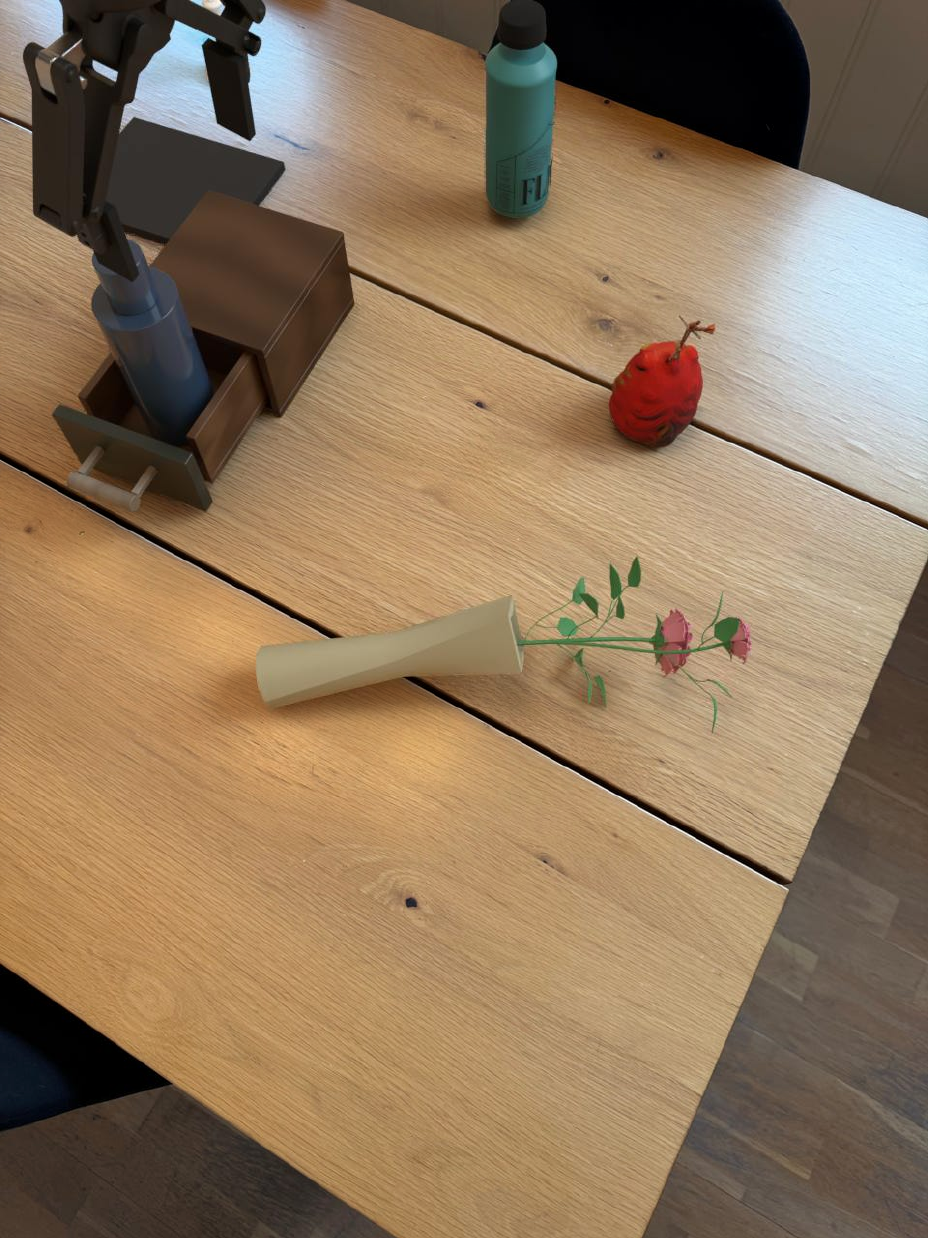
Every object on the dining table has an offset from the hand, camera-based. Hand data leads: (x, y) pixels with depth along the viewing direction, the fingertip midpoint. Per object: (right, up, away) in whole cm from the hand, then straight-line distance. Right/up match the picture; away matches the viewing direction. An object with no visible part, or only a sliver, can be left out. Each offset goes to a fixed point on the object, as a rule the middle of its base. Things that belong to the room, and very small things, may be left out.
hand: (179, 197), depth 68 cm
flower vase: (+22, -33, +10) cm, 41 cm away
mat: (-10, +15, +35) cm, 40 cm away
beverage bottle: (+24, +13, +33) cm, 43 cm away
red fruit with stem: (+36, -11, +21) cm, 43 cm away
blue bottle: (-5, -11, +19) cm, 23 cm away
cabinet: (0, -2, +26) cm, 26 cm away
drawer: (-6, -14, +19) cm, 24 cm away
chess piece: (-7, +31, +43) cm, 54 cm away
